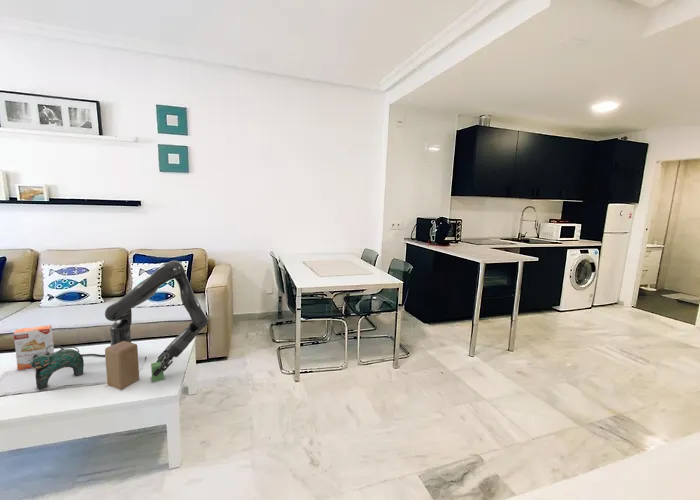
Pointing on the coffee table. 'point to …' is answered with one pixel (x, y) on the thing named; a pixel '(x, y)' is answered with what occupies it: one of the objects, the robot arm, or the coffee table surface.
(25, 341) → the cracker box
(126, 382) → the wooden block
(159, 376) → the green block
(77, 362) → the ceramic cat
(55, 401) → the coffee table surface
